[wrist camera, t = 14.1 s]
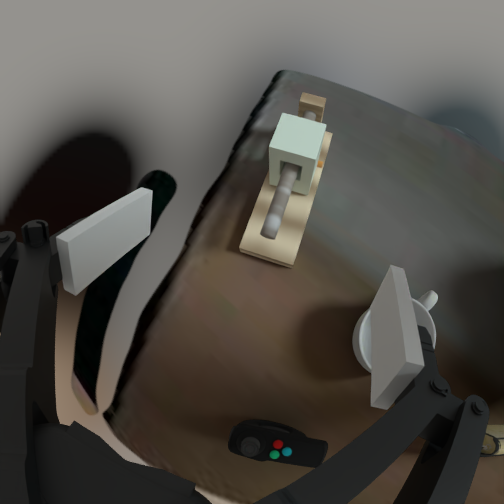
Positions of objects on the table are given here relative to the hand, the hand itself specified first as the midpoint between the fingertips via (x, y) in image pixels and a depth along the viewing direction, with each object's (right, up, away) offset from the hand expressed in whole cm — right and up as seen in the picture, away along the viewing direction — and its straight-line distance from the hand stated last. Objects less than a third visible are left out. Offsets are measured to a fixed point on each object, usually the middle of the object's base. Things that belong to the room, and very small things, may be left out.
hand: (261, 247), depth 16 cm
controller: (+3, -26, +24) cm, 35 cm away
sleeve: (+6, +12, +31) cm, 34 cm away
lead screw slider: (+5, +10, +33) cm, 35 cm away
